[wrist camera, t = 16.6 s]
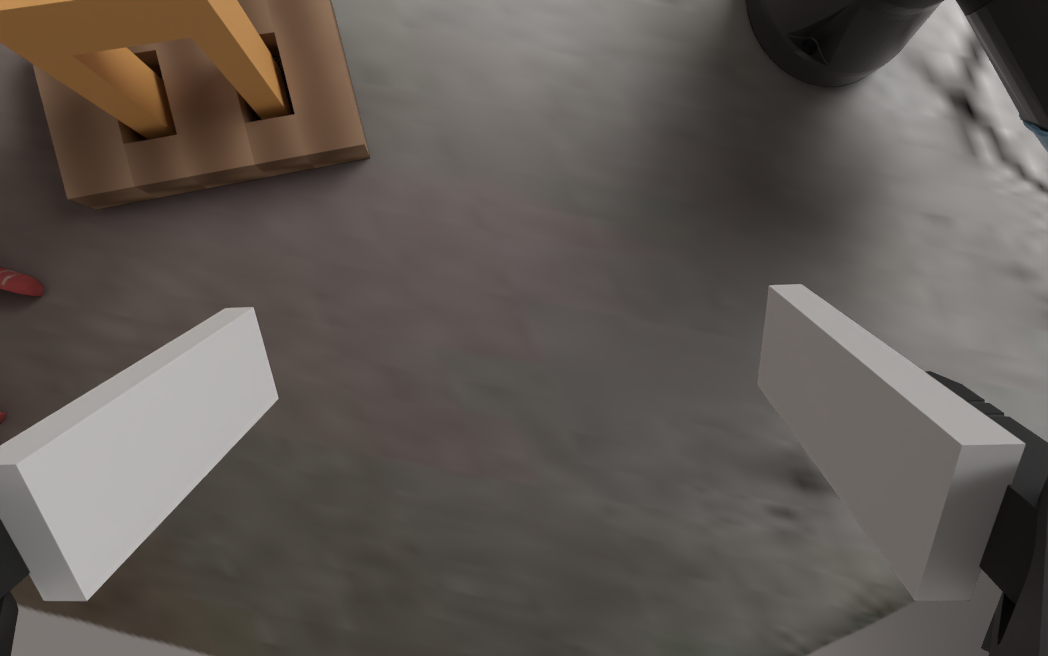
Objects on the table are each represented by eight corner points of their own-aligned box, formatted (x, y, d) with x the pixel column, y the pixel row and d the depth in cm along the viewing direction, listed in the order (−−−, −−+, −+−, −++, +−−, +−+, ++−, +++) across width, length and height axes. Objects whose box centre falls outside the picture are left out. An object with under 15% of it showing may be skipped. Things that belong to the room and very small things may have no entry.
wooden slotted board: (333, 7, 41) (324, -18, 38) (370, 157, 42) (364, 144, 39) (54, 48, 38) (22, 24, 35) (96, 209, 39) (67, 199, 36)
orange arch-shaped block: (280, 69, 41) (174, -101, 25) (293, 119, 41) (195, -17, 25) (142, 91, 39) (-64, -73, 23) (155, 144, 39) (-41, 15, 24)
